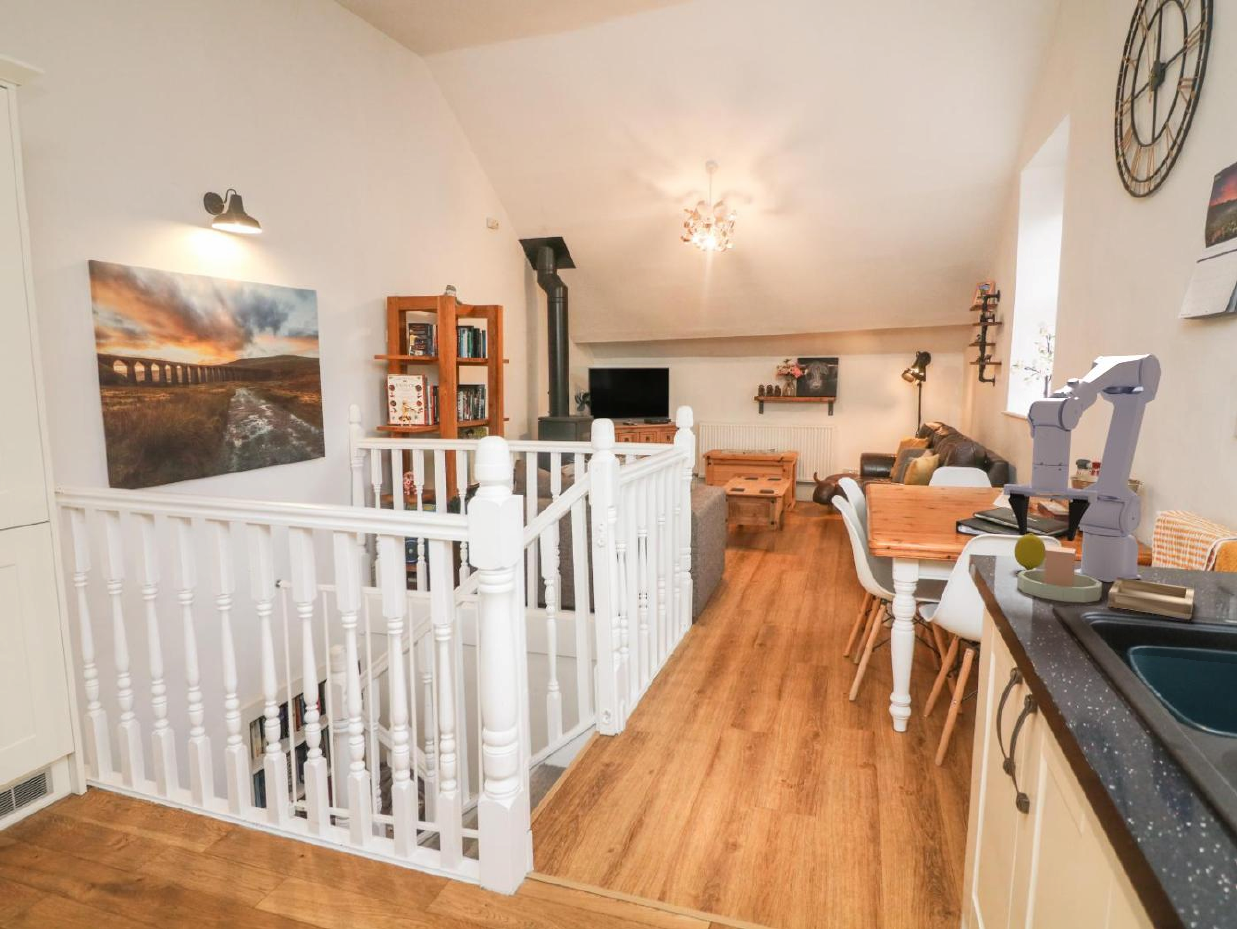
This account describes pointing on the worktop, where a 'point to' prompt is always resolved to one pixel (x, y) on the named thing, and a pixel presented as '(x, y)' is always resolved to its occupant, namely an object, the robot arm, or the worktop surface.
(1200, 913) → the worktop surface
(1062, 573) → the pink block
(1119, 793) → the worktop surface
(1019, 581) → the ceramic ring
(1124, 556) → the robot arm
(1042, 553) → the lemon
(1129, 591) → the birch tray
